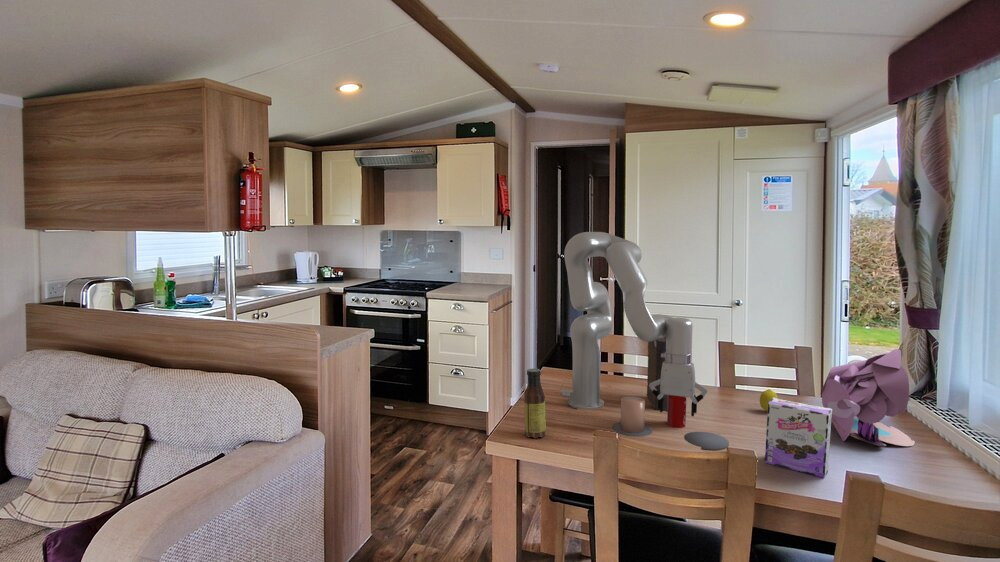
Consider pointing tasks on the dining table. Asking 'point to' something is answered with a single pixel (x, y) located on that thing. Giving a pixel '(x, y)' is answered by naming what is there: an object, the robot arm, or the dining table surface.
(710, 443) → the right coaster
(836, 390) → the flower arrangement
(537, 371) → the sauce bottle
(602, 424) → the dining table surface
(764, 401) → the lemon
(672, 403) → the soda can
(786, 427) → the candy box
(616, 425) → the left coaster
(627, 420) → the beige rounded cylinder
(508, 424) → the dining table surface
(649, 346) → the book
